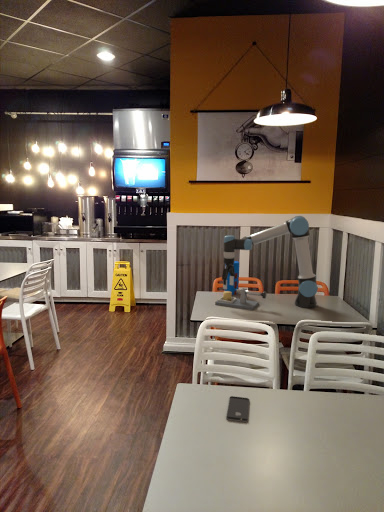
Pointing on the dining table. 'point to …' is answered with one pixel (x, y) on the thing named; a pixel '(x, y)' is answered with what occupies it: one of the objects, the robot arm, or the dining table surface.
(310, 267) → the robot arm
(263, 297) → the retaining shaft
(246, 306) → the keeper base
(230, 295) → the spacer collar
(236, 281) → the thermos
